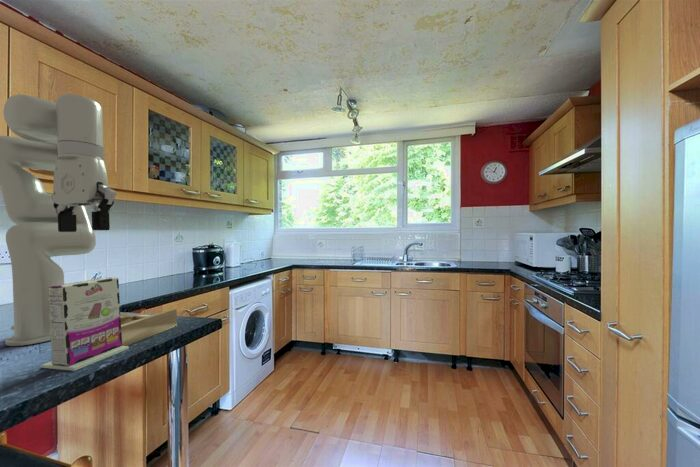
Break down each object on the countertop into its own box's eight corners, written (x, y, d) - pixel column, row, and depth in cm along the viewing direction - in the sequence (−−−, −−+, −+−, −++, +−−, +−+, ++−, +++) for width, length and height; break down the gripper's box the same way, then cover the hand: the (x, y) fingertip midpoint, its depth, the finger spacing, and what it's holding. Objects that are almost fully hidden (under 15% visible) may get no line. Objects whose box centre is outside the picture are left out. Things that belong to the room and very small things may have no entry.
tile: (41, 367, 59) (41, 364, 59) (99, 346, 70) (99, 344, 70) (74, 370, 57) (74, 367, 57) (128, 348, 68) (128, 346, 68)
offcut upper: (114, 328, 75) (113, 319, 75) (113, 324, 80) (112, 315, 80) (131, 325, 78) (130, 316, 78) (129, 321, 82) (128, 312, 82)
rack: (74, 344, 72) (73, 324, 72) (135, 324, 88) (135, 308, 88) (122, 347, 69) (121, 326, 69) (177, 325, 84) (176, 309, 84)
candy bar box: (106, 344, 69) (104, 277, 69) (122, 345, 68) (120, 277, 68) (49, 365, 58) (46, 285, 58) (67, 367, 57) (64, 285, 57)
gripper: (31, 153, 62) (34, 232, 62) (92, 145, 58) (95, 229, 58) (72, 162, 69) (74, 232, 69) (129, 155, 65) (131, 229, 65)
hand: (84, 231), depth 64 cm, fingers open, 9 cm apart
